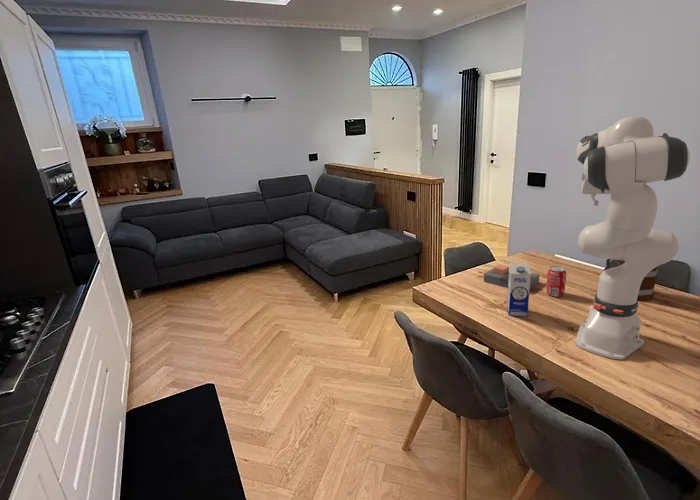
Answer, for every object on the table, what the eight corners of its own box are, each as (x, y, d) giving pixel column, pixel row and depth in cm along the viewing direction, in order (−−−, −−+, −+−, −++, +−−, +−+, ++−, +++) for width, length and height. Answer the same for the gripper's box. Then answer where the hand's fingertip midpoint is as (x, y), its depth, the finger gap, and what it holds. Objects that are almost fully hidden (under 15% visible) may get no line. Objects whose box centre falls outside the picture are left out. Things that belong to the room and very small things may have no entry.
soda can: (560, 290, 165) (562, 265, 161) (567, 297, 158) (570, 271, 154) (543, 291, 166) (545, 265, 162) (549, 298, 159) (552, 271, 155)
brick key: (503, 275, 176) (503, 269, 175) (493, 273, 180) (493, 267, 179) (508, 272, 179) (508, 266, 178) (498, 270, 183) (498, 264, 182)
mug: (662, 296, 153) (669, 262, 148) (639, 304, 148) (646, 269, 143) (614, 280, 170) (618, 249, 165) (592, 286, 166) (597, 254, 161)
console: (525, 292, 165) (526, 284, 164) (483, 281, 180) (483, 273, 178) (538, 282, 174) (539, 274, 173) (497, 272, 188) (498, 265, 187)
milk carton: (525, 308, 152) (528, 262, 146) (527, 316, 146) (531, 269, 140) (506, 307, 154) (509, 262, 148) (508, 315, 148) (511, 268, 142)
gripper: (583, 171, 141) (579, 206, 146) (650, 169, 133) (644, 207, 137) (581, 168, 147) (577, 203, 151) (646, 167, 138) (639, 203, 143)
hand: (609, 205), depth 144 cm, fingers open, 8 cm apart
